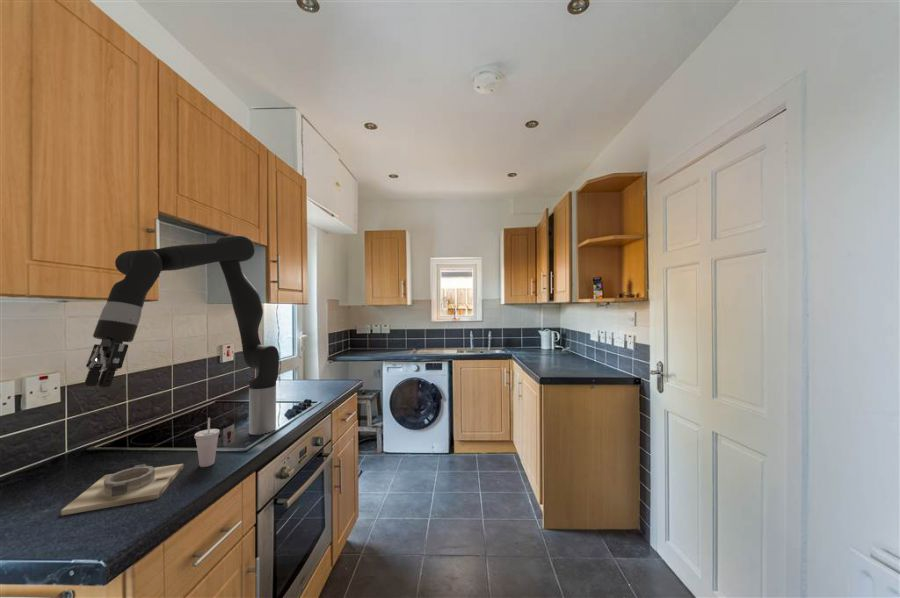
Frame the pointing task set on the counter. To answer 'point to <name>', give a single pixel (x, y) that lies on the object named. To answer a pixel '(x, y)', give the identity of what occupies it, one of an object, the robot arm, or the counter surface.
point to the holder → (125, 488)
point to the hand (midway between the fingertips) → (96, 386)
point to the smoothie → (207, 445)
